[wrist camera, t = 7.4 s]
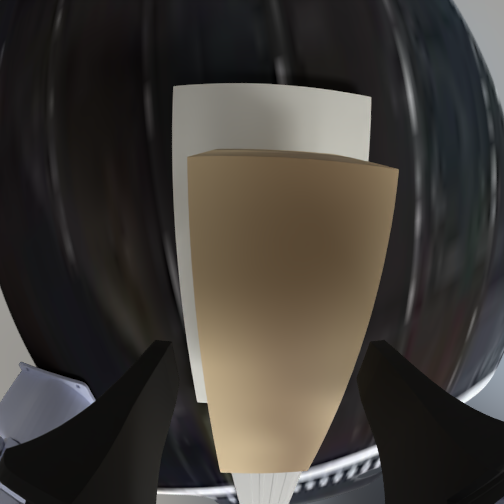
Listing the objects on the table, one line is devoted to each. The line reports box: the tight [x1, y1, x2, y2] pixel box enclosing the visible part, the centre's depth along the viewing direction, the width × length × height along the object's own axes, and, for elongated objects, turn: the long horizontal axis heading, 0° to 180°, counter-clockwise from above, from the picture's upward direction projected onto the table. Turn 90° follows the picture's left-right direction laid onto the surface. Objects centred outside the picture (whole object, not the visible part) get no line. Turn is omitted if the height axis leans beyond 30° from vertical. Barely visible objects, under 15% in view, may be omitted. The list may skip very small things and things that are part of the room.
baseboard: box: [232, 471, 302, 504], centre depth 28 cm, size 30×3×10 cm
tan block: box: [187, 149, 399, 473], centre depth 10 cm, size 4×14×5 cm, turn 179°
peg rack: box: [172, 83, 371, 403], centre depth 14 cm, size 9×20×3 cm, turn 178°
